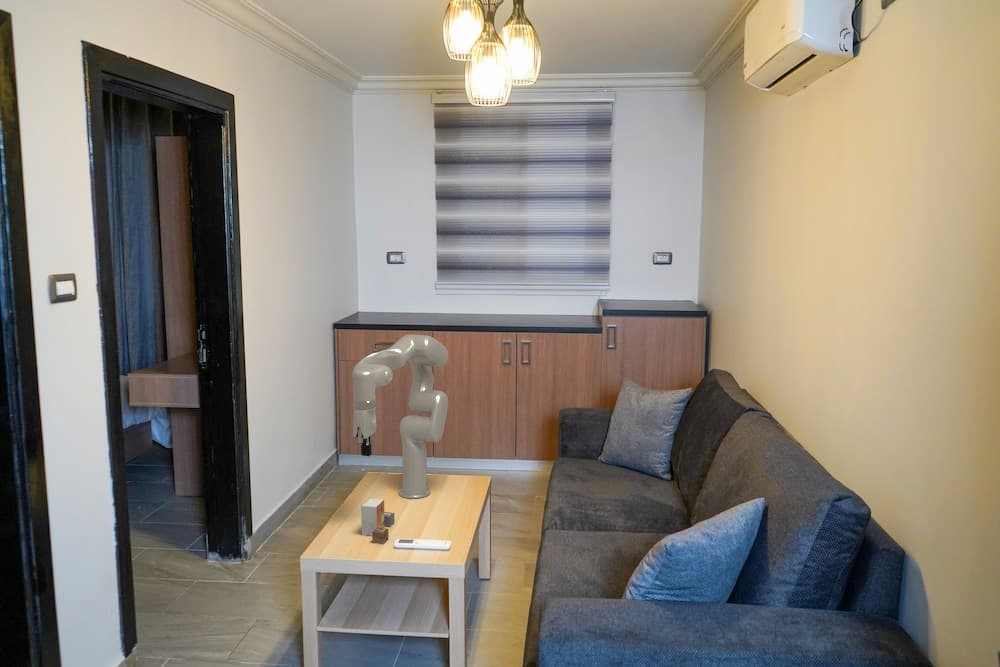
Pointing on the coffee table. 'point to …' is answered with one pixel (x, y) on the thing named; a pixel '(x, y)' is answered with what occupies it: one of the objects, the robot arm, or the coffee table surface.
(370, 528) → the small box
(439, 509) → the coffee table surface
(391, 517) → the digit one block
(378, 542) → the digit seven block
